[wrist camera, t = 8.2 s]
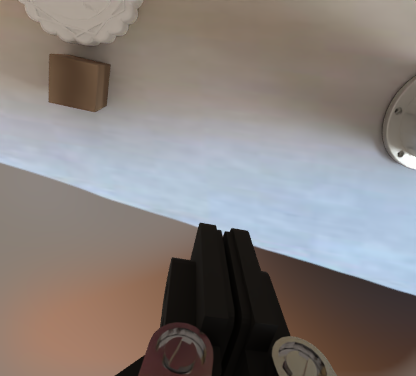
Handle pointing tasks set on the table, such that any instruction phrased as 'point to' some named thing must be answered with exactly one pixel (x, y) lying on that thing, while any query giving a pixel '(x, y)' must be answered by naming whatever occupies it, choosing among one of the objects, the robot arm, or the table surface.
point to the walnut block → (78, 82)
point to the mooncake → (84, 18)
